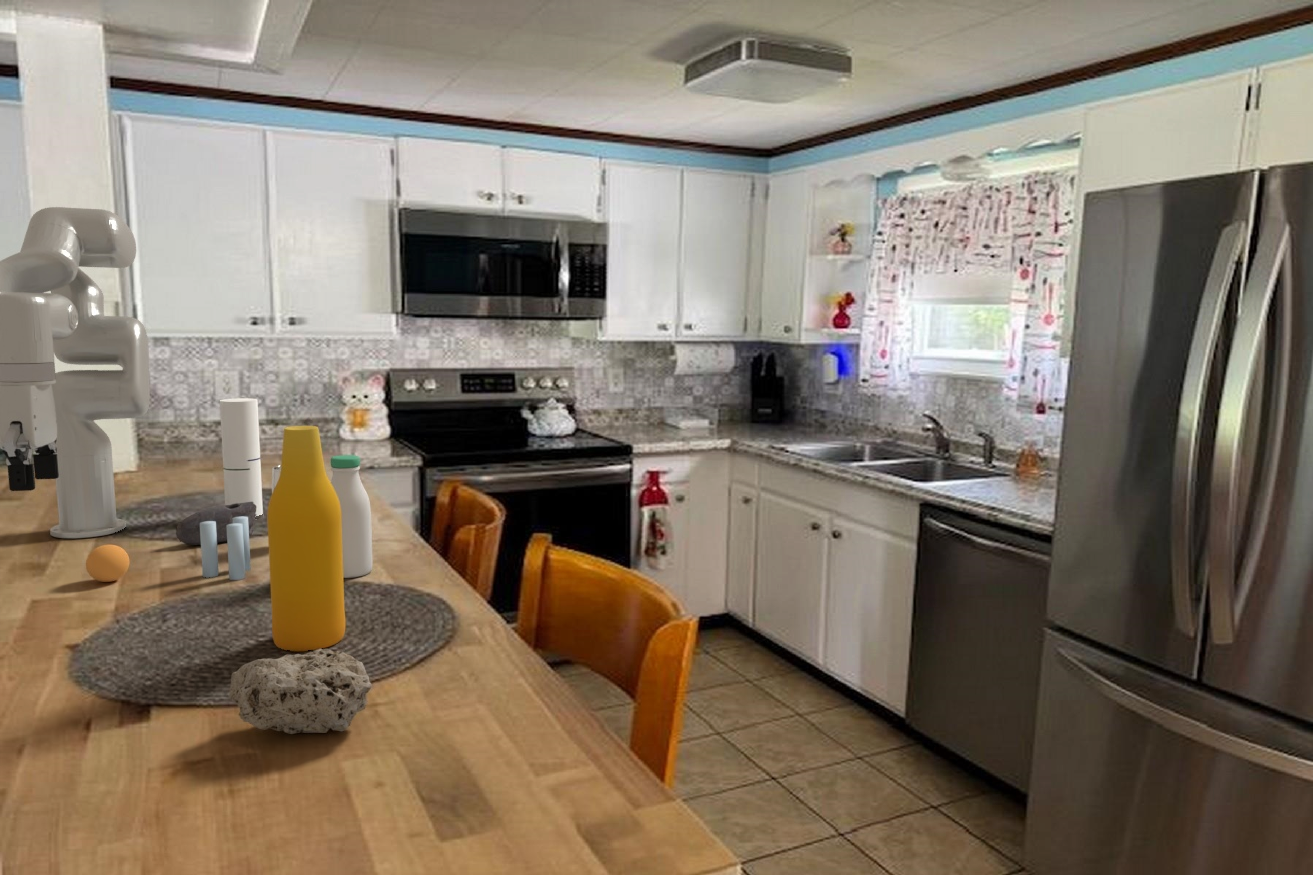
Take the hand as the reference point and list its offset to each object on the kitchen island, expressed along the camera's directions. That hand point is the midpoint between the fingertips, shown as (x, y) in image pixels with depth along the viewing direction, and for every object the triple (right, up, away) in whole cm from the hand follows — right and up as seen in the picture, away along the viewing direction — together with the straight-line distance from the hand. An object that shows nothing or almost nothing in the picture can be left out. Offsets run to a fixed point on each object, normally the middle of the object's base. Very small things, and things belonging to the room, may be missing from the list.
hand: (35, 484), depth 138 cm
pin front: (+23, -16, +9) cm, 29 cm away
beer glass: (+29, -13, +28) cm, 43 cm away
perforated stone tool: (+14, -13, +30) cm, 35 cm away
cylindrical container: (+10, -10, +49) cm, 51 cm away
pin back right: (+27, -15, +12) cm, 33 cm away
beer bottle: (+50, -20, -19) cm, 57 cm away
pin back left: (+28, -16, +8) cm, 33 cm away
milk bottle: (+45, -16, +12) cm, 49 cm away
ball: (+9, -13, +4) cm, 16 cm away
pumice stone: (+59, -24, -43) cm, 77 cm away
